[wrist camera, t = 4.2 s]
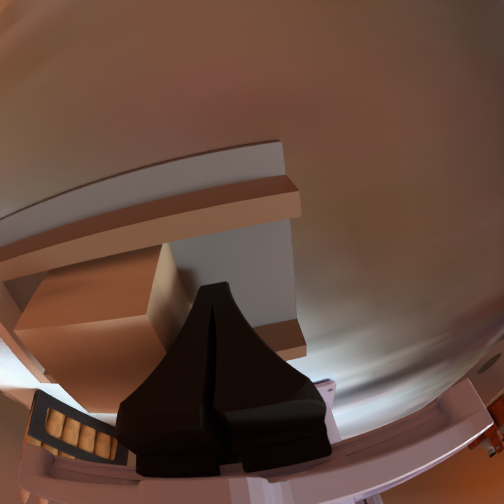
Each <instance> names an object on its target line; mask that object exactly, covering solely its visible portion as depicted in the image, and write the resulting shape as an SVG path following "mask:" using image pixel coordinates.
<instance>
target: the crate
mask: <svg viewBox="0 0 504 504" xmlns="http://www.w3.org/2000/svg"><path fill="white" fill-rule="evenodd" d="M190 310H191V305H190V303H189V300H188V297H187V294H186V292H185V289H184V286H183V283H182V281H181V278H180V275H179V272H178V269H177V266H176V263H175V260H174V257H173V254H172V251H171V248H170V245H169V243H164V244H160V245H155V246H150V247H146V248H141V249H136V250H132V251H127V252H123V253H118V254H114V255H109V256H105V257H101V258H96V259H92V260H88V261H83V262H79V263H75V264H71V265H67V266H62V267H58V268H54V269H50V270H49V271H48V273H47V274H46V276H45V277H44V279H43V281H42V282H41V284H40V285H39V287H38V288H37V290H36V292H35V293H34V295H33V296H32V298H31V300H30V301H29V303H28V305H27V307H26V308H25V310H24V312H23V313H22V315H21V317H20V319H19V321H18V322H17V324H16V326H15V328H14V330H13V331H14V332H15V334H16V335H17V336H18V337H19V339H20V340H21V341H22V343H23V344H24V345H25V346H26V348H27V349H28V350H29V351H30V353H31V354H32V355H33V356H34V357H35V359H36V360H37V361H38V362H39V363H40V364H41V365H42V367H43V368H44V369H45V370H46V371H47V372H48V373H49V374H50V375H51V376H52V378H53V379H54V380H55V381H56V382H57V383H58V384H59V385H60V386H61V387H62V388H63V389H64V390H65V391H66V392H67V393H68V394H69V395H70V396H71V397H72V398H73V399H74V400H75V401H76V402H78V403H79V404H80V405H81V406H82V407H83V408H84V409H85V410H86V411H87V412H89V413H118V409H119V406H120V403H121V402H122V401H123V400H125V399H126V398H127V397H128V396H129V395H130V394H131V393H132V392H134V391H135V390H136V389H137V388H138V387H139V386H140V385H141V384H142V383H143V382H144V381H145V380H146V378H147V377H148V376H149V375H150V374H151V373H152V372H153V371H154V369H155V368H156V367H157V366H158V364H159V363H160V362H161V360H162V359H163V358H164V356H165V355H166V354H167V352H168V351H169V349H170V348H171V346H172V344H173V343H174V341H175V340H176V338H177V336H178V334H179V332H180V330H181V329H182V327H183V325H184V323H185V321H186V319H187V317H188V314H189V312H190Z"/></svg>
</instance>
